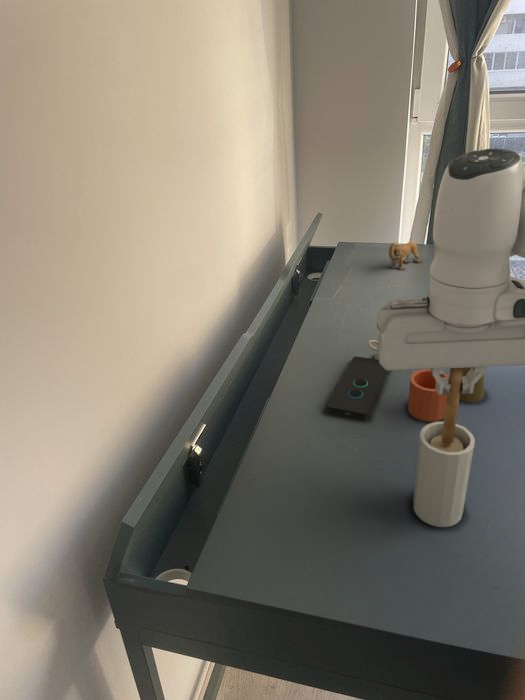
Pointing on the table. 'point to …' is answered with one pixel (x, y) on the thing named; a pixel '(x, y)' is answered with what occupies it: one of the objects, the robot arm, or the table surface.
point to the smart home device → (358, 389)
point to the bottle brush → (450, 416)
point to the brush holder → (426, 397)
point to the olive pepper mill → (478, 389)
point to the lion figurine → (402, 252)
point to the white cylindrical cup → (442, 477)
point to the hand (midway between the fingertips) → (453, 391)
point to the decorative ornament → (373, 347)
